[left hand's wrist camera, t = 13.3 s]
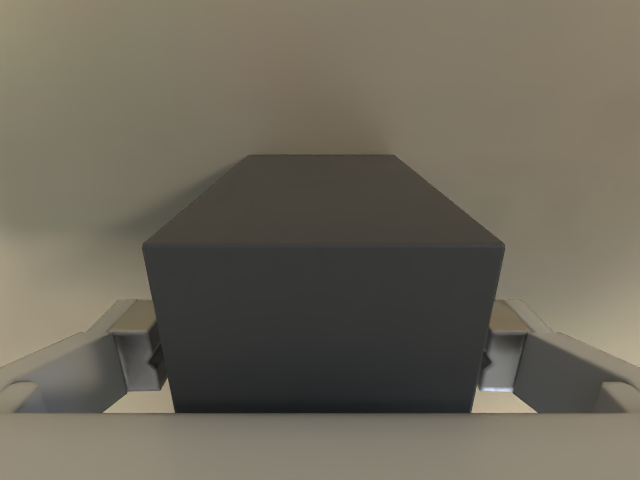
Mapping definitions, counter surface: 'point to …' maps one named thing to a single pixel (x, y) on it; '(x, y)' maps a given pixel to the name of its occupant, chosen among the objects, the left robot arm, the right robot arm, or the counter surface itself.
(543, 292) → the counter surface
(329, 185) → the bar
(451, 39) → the counter surface
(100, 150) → the counter surface
